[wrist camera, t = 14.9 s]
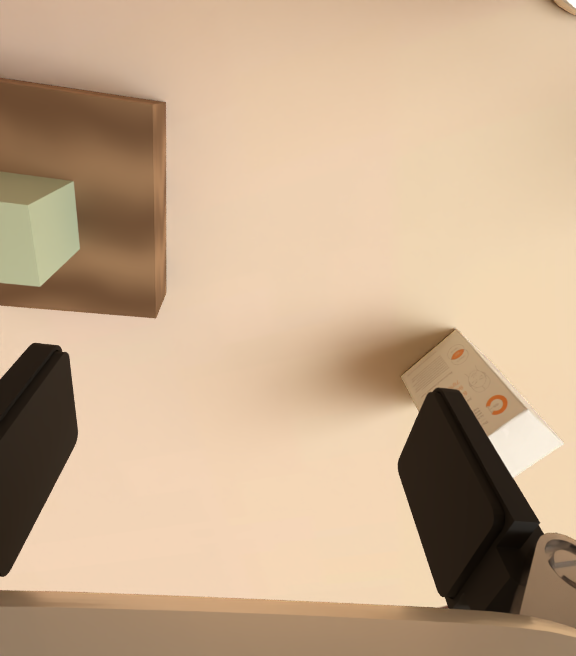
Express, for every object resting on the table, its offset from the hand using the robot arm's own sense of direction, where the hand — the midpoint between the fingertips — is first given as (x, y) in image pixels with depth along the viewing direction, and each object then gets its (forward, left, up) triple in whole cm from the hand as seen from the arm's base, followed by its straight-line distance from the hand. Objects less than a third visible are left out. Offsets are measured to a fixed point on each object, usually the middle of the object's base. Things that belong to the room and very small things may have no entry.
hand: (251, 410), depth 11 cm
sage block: (+3, -15, -23) cm, 28 cm away
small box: (+16, +23, -29) cm, 40 cm away
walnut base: (+2, -15, -28) cm, 32 cm away
